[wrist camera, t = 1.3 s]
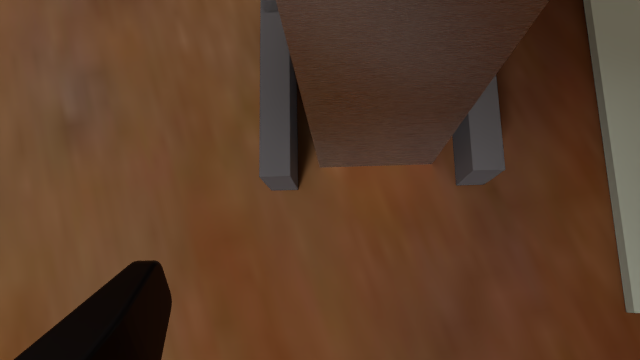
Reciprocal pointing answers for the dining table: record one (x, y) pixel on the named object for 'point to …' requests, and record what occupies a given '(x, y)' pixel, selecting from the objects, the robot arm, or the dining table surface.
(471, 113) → the c collar
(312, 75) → the steel post
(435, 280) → the dining table surface
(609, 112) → the off-white mat
